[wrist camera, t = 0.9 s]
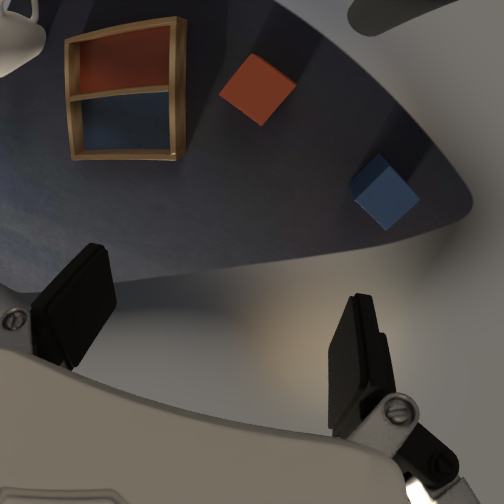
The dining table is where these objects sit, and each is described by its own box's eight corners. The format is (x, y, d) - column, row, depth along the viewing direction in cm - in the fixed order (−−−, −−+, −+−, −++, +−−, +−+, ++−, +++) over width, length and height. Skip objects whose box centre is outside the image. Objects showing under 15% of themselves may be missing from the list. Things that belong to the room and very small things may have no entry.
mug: (35, 84, 28) (-35, 103, 18) (8, 52, 25) (-57, 65, 16) (86, 5, 22) (12, -2, 13) (54, -23, 20) (-15, -29, 10)
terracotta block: (267, 119, 28) (261, 126, 24) (230, 91, 27) (218, 94, 23) (297, 84, 26) (296, 86, 22) (259, 56, 25) (251, 53, 21)
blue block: (377, 211, 31) (386, 231, 27) (348, 183, 30) (354, 200, 26) (407, 182, 29) (420, 199, 25) (378, 152, 28) (389, 165, 24)
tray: (80, 39, 25) (64, 39, 22) (187, 20, 23) (176, 15, 21) (85, 153, 32) (71, 160, 30) (186, 153, 31) (176, 160, 28)
